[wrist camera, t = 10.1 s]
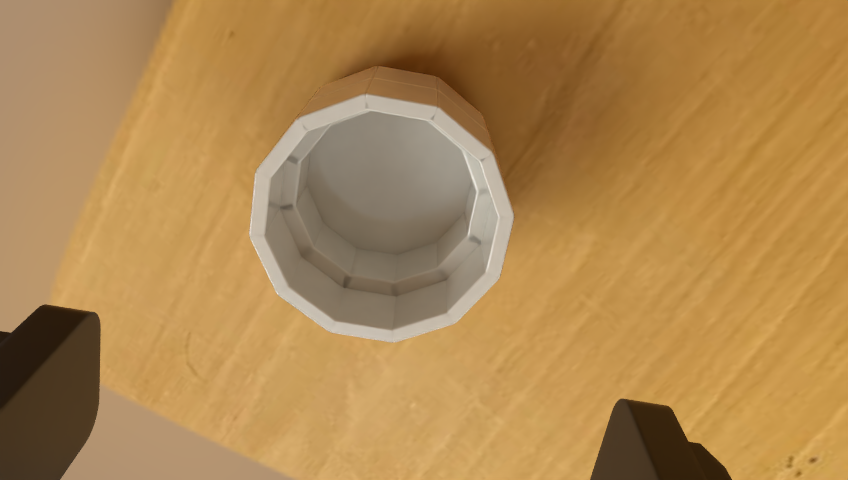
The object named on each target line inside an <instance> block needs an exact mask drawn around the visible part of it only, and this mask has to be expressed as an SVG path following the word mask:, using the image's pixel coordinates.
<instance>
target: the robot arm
mask: <svg viewBox="0 0 848 480" xmlns="http://www.w3.org/2000/svg"><path fill="white" fill-rule="evenodd" d="M99 383H100V320H99V317H98V315H97V314H96V313H95V312H89V311H83V310H77V309H71V308H64V307H58V306H52V305H42V306H40V307H39V308H38V309H36V310H35V311H34V312H33V313H32V314H31V315H30V316H29V317H28V318H27V319H26V320H25V321H24V322H23V323H21V324H20V325H19V326H18V327H17V328H16V329H15V330H14V331H13V332H12V333H9V332H2V331H0V480H60V479H61V477H62V476H63V475H64V473H65V472H66V470H67V469H68V467H69V466H70V464H71V463H72V462H73V460H74V459H75V457H76V456H77V454H78V452H79V451H80V450H81V448H82V447H83V446H84V444H85V443H86V441H87V439H88V437H89V436H90V433H91V431H92V429H93V426H94V423H95V420H96V416H97V411H98V405H99ZM590 480H732V479H731V477H730V475H729V474H728V472H727V470H726V468H725V467H724V466H723V465H722V464H721V463H720V462H719V461H718V460H717V459H716V458H715V457H714V456H712V455H711V454H710V453H709V452H708V451H707V450H706V449H705V448H704V447H703V446H702V445H701V444H699V443H693V442H688V440H687V438H686V436H685V434H684V432H683V430H682V428H681V426H680V424H679V422H678V420H677V418H676V416H675V414H674V412H673V410H672V409H671V408H670V407H669V406H665V405H659V404H653V403H647V402H640V401H634V400H628V399H620V400H618V401H617V403H616V404H615V406H614V408H613V411H612V413H611V416H610V420H609V423H608V426H607V429H606V432H605V435H604V438H603V441H602V444H601V447H600V451H599V454H598V457H597V460H596V463H595V466H594V469H593V472H592V475H591V479H590Z"/></svg>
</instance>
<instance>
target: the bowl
mask: <svg viewBox="0 0 848 480" xmlns="http://www.w3.org/2000/svg"><path fill="white" fill-rule="evenodd" d="M513 222H514V211H513V208H512V204H511V201H510V197H509V194H508V190H507V187H506V184H505V180H504V177H503V173H502V170H501V166H500V163H499V161H498V158H497V155H496V152H495V149H494V146H493V143H492V140H491V137H490V134H489V131H488V128H487V125H486V122H485V119H484V118H483V115H482V114H481V113H480V112H479V111H478V110H477V109H475V108H474V107H473V106H472V105H471V104H470V103H468V102H467V101H466V100H465V99H464V98H463V97H461V96H460V95H459V94H458V93H457V92H456V91H454V90H453V89H452V88H451V87H450V86H448V85H447V84H446V83H445V82H444V81H443V80H441V79H440V78H439V77H436V76H433V75H427V74H422V73H416V72H411V71H405V70H400V69H394V68H389V67H383V66H378V67H377V66H374V67H371V68H369V69H366V70H363V71H361V72H358V73H355V74H352V75H350V76H347V77H344V78H342V79H339V80H336V81H333V82H331V83H328V84H325V85H323V86H322V87H320V88H319V89H318V90H317V91H316V93H315V94H314V95H313V96H312V98H311V99H310V100H309V101H308V103H307V104H306V105H305V107H304V108H303V109H302V110H301V112H300V113H299V114H298V115H297V117H296V118H295V119H294V120H293V122H292V123H291V124H290V126H289V127H288V128H287V129H286V131H285V132H284V133H283V135H282V136H281V137H280V139H279V140H278V141H277V143H276V144H275V145H274V147H273V148H272V149H271V151H270V152H269V153H268V155H267V156H266V157H265V159H264V160H263V161H262V163H261V164H260V165H259V167H258V168H257V169H256V172H255V178H254V189H253V199H252V209H251V220H250V230H249V236H250V239H251V241H252V243H253V245H254V248H255V250H256V252H257V254H258V256H259V258H260V260H261V262H262V264H263V266H264V268H265V270H266V272H267V274H268V277H269V279H270V281H271V283H272V285H273V287H274V289H275V291H276V293H277V294H278V295H279V296H280V297H281V298H283V299H284V300H286V301H287V302H288V303H290V304H291V305H293V306H294V307H295V308H297V309H298V310H299V311H301V312H302V313H304V314H305V315H306V316H308V317H309V318H311V319H312V320H313V321H315V322H316V323H318V324H319V325H320V326H322V327H323V328H324V329H326V330H327V331H329V332H331V333H337V334H343V335H349V336H355V337H361V338H368V339H374V340H380V341H386V342H392V343H393V342H398V341H401V340H405V339H408V338H411V337H414V336H417V335H421V334H424V333H427V332H430V331H433V330H437V329H440V328H443V327H446V326H449V325H453V324H455V323H456V322H458V321H459V320H460V319H461V317H462V316H463V315H464V314H465V313H466V312H467V311H468V310H469V309H470V308H471V307H472V306H473V305H474V304H475V303H476V302H477V301H478V300H479V299H480V298H481V297H482V296H483V295H484V294H485V293H486V292H487V291H488V290H489V289H490V288H491V287H492V286H493V285H494V284H495V283H496V282H497V281H498V280H499V278H500V276H501V272H502V268H503V263H504V259H505V255H506V251H507V247H508V243H509V238H510V234H511V230H512V226H513Z"/></svg>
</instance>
